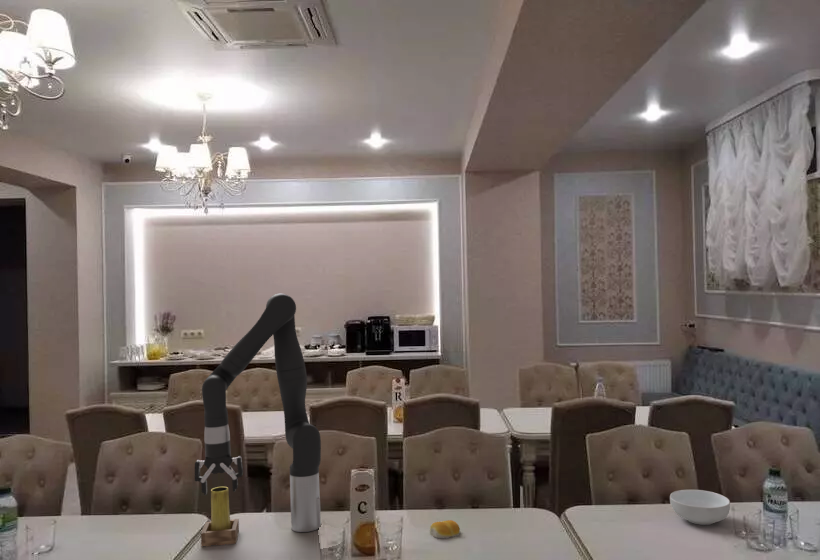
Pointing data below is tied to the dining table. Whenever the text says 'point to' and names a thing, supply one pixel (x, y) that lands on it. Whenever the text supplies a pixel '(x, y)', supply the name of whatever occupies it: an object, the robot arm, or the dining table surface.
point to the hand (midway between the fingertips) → (220, 492)
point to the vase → (220, 509)
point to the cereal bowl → (700, 506)
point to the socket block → (220, 534)
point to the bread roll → (444, 529)
